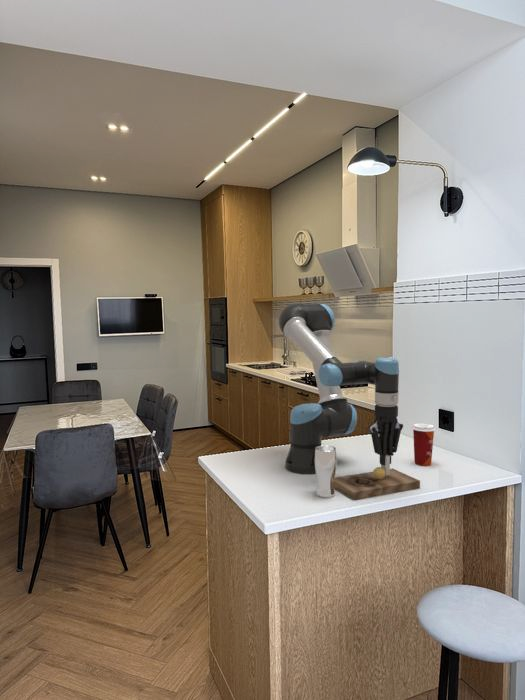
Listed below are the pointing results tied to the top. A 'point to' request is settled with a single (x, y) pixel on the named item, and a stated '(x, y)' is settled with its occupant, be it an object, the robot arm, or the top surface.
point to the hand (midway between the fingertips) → (385, 473)
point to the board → (374, 484)
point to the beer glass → (325, 470)
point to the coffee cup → (423, 443)
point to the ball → (379, 473)
